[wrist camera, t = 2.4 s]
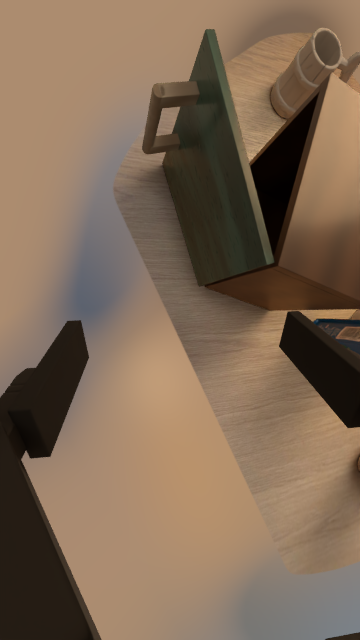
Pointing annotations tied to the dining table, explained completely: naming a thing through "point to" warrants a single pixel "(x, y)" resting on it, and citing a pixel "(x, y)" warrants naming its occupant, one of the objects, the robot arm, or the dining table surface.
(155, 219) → the dining table surface
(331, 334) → the blue food package
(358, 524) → the dining table surface
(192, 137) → the door
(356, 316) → the mug
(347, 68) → the mug
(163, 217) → the dining table surface
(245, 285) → the cupboard
